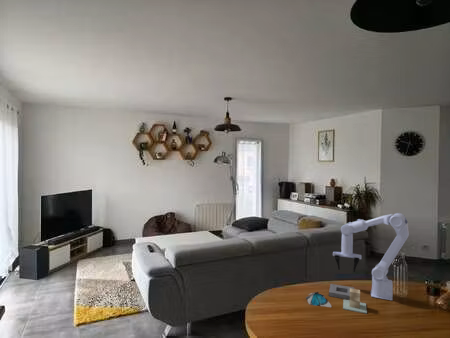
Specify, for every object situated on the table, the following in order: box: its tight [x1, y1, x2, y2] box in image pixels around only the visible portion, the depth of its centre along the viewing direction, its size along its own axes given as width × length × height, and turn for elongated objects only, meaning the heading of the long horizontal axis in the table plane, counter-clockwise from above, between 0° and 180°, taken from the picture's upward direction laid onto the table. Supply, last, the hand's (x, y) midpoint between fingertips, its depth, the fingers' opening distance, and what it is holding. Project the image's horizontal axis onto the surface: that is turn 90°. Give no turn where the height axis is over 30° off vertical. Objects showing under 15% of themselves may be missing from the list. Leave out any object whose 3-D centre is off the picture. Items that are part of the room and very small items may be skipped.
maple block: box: [349, 288, 361, 308], centre depth 139 cm, size 4×4×7 cm
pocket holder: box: [328, 283, 355, 300], centre depth 153 cm, size 12×12×2 cm
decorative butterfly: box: [305, 289, 332, 308], centre depth 143 cm, size 10×6×10 cm
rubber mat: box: [342, 299, 368, 315], centre depth 139 cm, size 10×10×1 cm
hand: (346, 270), depth 162 cm, fingers open, 7 cm apart
